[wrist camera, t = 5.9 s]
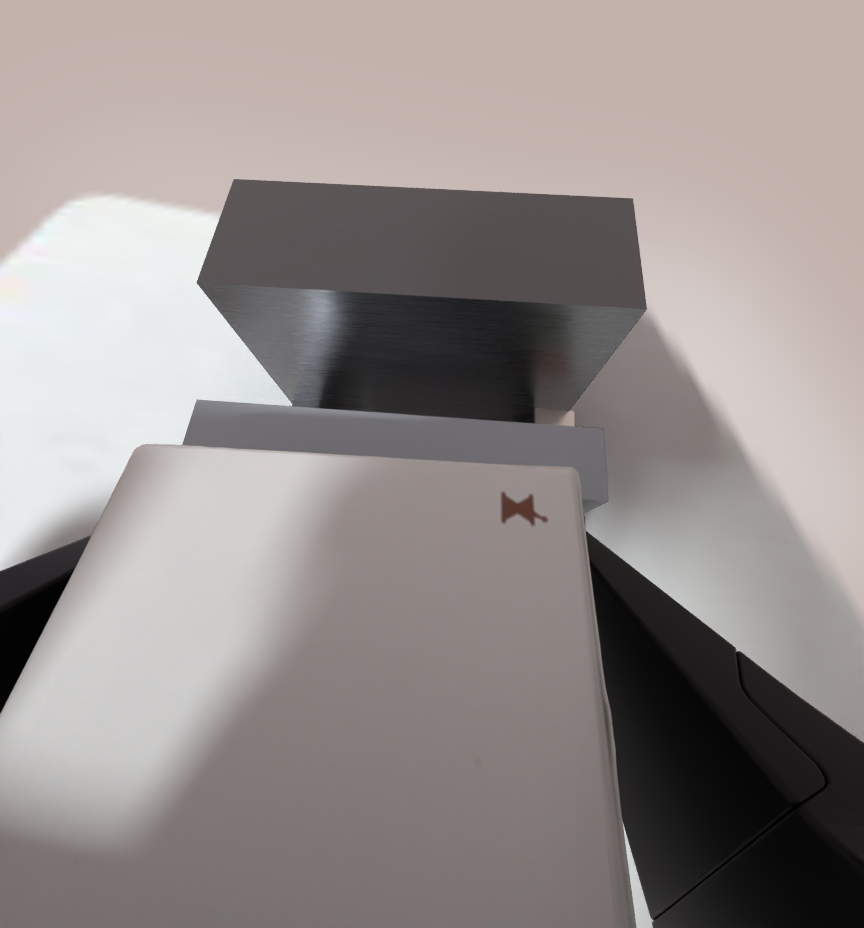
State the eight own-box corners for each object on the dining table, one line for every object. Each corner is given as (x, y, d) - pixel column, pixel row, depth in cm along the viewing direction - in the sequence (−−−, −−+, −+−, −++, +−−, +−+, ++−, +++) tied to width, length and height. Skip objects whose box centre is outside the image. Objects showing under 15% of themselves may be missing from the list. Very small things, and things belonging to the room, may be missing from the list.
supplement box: (329, 574, 17) (133, 422, 6) (488, 588, 17) (598, 454, 6) (287, 776, 14) (-367, 1318, 2) (486, 798, 13) (756, 1530, 2)
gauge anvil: (548, 601, 17) (697, 622, 7) (284, 578, 17) (93, 569, 8) (544, 380, 20) (640, 199, 11) (326, 365, 21) (233, 179, 11)
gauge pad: (553, 553, 16) (716, 509, 7) (323, 534, 17) (174, 467, 7) (552, 520, 17) (705, 435, 7) (329, 502, 17) (196, 399, 8)
